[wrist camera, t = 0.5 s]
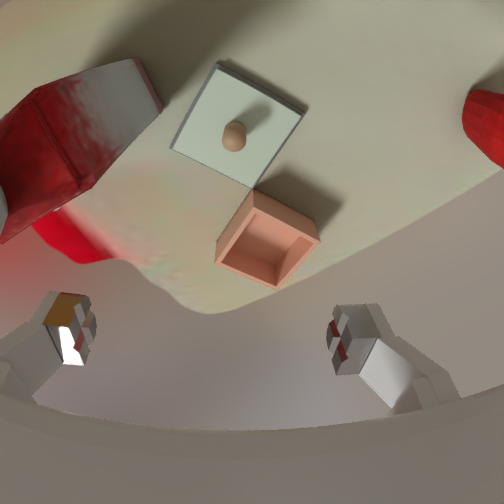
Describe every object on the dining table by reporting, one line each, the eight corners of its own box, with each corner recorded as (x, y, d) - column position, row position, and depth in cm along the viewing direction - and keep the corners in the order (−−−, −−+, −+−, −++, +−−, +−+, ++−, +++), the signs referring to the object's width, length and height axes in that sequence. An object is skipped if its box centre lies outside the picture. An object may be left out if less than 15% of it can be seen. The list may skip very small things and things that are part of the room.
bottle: (136, 49, 32) (-46, 107, 8) (169, 115, 38) (56, 266, 14) (55, 103, 35) (-105, 219, 11) (87, 159, 41) (-37, 312, 17)
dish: (252, 187, 45) (253, 206, 40) (313, 220, 48) (320, 241, 44) (216, 241, 51) (214, 264, 46) (274, 267, 54) (277, 290, 50)
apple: (442, 91, 35) (501, 120, 24) (488, 74, 32) (549, 99, 21) (457, 151, 40) (508, 194, 30) (500, 132, 37) (553, 168, 27)
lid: (217, 68, 34) (213, 72, 30) (299, 114, 38) (306, 124, 34) (173, 146, 40) (165, 160, 36) (251, 185, 44) (252, 202, 40)
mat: (216, 62, 34) (215, 63, 33) (304, 112, 38) (305, 113, 38) (170, 146, 40) (169, 147, 40) (252, 187, 45) (252, 189, 44)
